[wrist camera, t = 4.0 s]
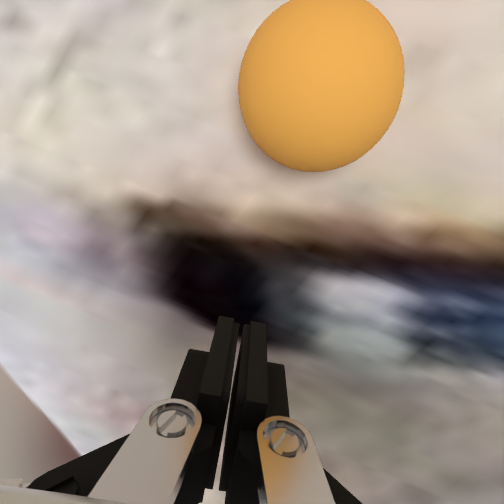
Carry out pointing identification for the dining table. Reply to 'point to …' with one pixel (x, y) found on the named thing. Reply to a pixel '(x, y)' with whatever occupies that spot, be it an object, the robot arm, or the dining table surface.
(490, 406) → the dining table surface
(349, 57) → the ball
